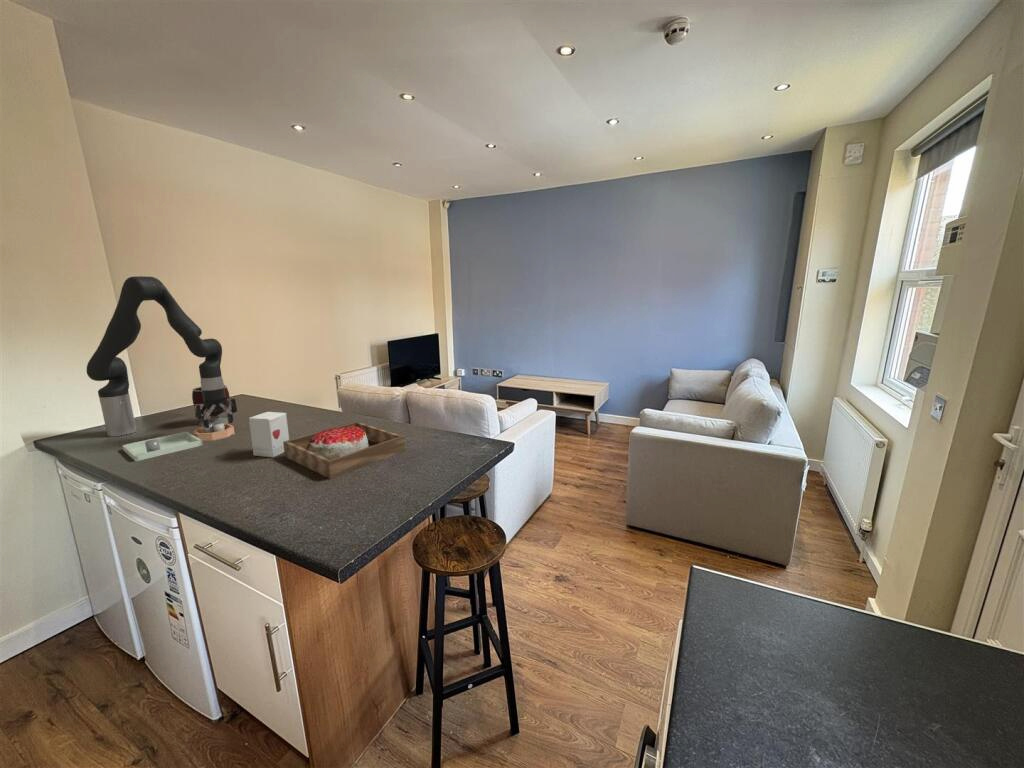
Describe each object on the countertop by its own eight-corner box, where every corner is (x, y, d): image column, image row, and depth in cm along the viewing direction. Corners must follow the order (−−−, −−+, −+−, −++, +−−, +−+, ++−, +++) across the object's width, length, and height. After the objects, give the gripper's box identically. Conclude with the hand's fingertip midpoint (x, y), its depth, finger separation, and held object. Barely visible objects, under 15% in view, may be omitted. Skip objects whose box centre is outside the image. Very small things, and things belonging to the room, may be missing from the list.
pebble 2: (203, 435, 169) (201, 424, 168) (213, 433, 172) (211, 422, 171) (206, 437, 167) (204, 426, 165) (217, 435, 170) (215, 423, 168)
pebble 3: (213, 435, 169) (211, 424, 168) (223, 433, 172) (221, 422, 171) (216, 437, 166) (214, 426, 165) (227, 435, 170) (225, 423, 168)
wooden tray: (285, 456, 149) (283, 441, 148) (357, 434, 173) (356, 421, 172) (330, 479, 131) (328, 461, 130) (404, 451, 155) (404, 436, 154)
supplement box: (273, 458, 148) (268, 419, 145) (252, 456, 150) (247, 417, 147) (291, 449, 157) (286, 412, 154) (271, 447, 159) (266, 411, 156)
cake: (352, 438, 169) (351, 416, 167) (378, 455, 152) (376, 430, 150) (293, 453, 154) (290, 428, 152) (314, 472, 136) (311, 445, 134)
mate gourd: (189, 426, 185) (182, 383, 180) (218, 417, 198) (212, 377, 193) (214, 429, 180) (207, 386, 176) (242, 420, 193) (236, 379, 189)
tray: (123, 452, 153) (122, 445, 152) (188, 438, 169) (186, 431, 168) (135, 463, 143) (134, 456, 142) (203, 447, 158) (202, 440, 158)
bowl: (191, 438, 168) (189, 429, 167) (226, 430, 178) (225, 422, 177) (202, 445, 161) (200, 435, 160) (238, 436, 171) (236, 427, 170)
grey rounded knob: (146, 454, 149) (143, 441, 148) (159, 451, 152) (157, 438, 151) (149, 456, 147) (146, 443, 145) (162, 453, 150) (160, 440, 148)
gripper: (229, 383, 173) (234, 419, 176) (188, 389, 161) (195, 428, 165) (236, 385, 168) (241, 422, 172) (195, 392, 157) (201, 431, 160)
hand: (219, 425), depth 168 cm, fingers open, 8 cm apart
